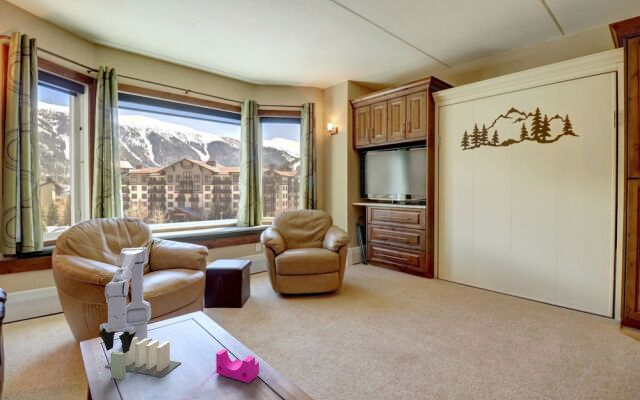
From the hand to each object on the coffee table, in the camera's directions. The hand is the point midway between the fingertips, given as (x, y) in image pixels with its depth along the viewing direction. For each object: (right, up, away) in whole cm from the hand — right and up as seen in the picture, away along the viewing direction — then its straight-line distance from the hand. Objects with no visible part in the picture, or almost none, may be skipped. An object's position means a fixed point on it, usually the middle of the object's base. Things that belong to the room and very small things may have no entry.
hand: (117, 350), depth 117 cm
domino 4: (+14, -9, +6) cm, 18 cm away
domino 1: (-1, -9, +10) cm, 13 cm away
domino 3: (+9, -9, +7) cm, 15 cm away
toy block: (+43, -10, +3) cm, 45 cm away
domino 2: (+4, -9, +8) cm, 13 cm away
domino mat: (+5, -10, +8) cm, 14 cm away
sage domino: (0, -10, 0) cm, 10 cm away
